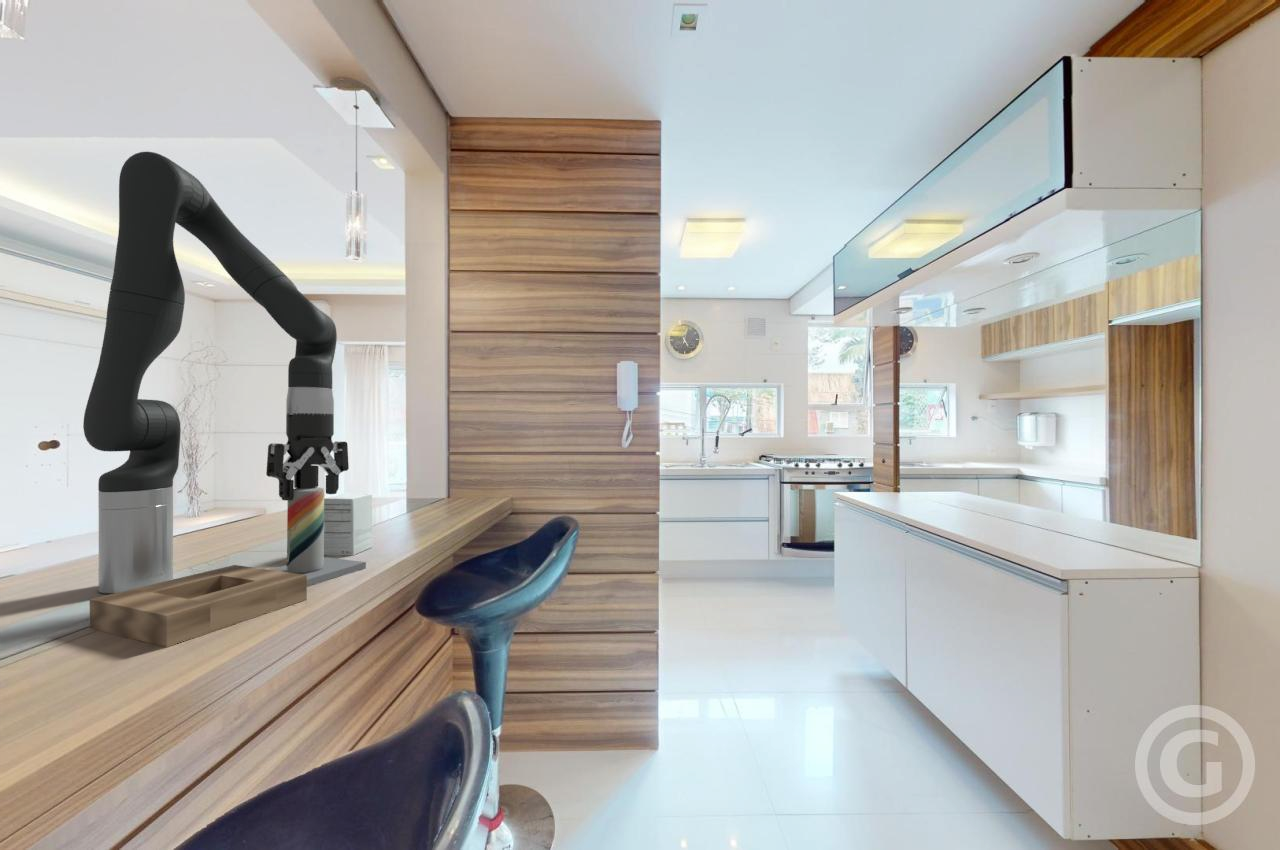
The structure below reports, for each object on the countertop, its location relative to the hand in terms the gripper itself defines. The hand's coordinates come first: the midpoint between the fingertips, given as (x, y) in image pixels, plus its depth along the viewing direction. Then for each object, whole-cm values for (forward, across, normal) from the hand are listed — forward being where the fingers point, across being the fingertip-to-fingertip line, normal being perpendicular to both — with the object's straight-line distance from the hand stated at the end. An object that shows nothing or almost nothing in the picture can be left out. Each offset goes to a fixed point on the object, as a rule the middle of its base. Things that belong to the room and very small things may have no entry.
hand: (310, 496), depth 93 cm
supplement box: (+15, -15, -9) cm, 23 cm away
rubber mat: (+15, 0, 0) cm, 15 cm away
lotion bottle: (+14, +1, +1) cm, 14 cm away
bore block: (+15, +19, +4) cm, 24 cm away
